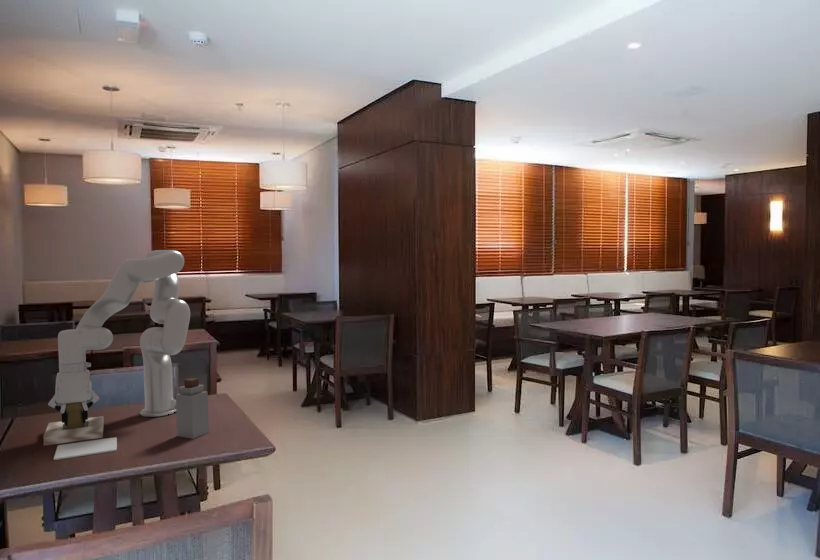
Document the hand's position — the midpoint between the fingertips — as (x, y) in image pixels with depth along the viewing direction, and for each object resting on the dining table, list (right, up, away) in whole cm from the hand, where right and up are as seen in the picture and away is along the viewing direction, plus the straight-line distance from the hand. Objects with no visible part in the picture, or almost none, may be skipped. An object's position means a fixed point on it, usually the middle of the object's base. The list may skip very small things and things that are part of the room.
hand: (75, 422), depth 186 cm
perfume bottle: (+39, -4, -1) cm, 39 cm away
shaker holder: (0, -4, 0) cm, 4 cm away
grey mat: (+12, -4, -14) cm, 19 cm away
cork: (0, -4, 0) cm, 4 cm away
